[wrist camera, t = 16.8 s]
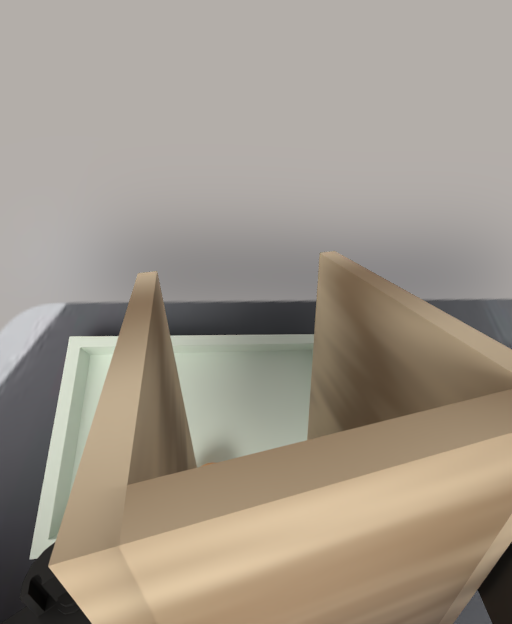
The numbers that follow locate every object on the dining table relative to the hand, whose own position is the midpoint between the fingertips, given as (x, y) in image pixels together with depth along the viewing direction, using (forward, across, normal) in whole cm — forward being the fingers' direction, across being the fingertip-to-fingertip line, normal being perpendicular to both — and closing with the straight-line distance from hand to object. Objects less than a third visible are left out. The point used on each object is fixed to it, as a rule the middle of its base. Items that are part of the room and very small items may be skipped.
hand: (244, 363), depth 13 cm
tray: (+7, -2, -10) cm, 13 cm away
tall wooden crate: (-5, 0, -7) cm, 8 cm away
